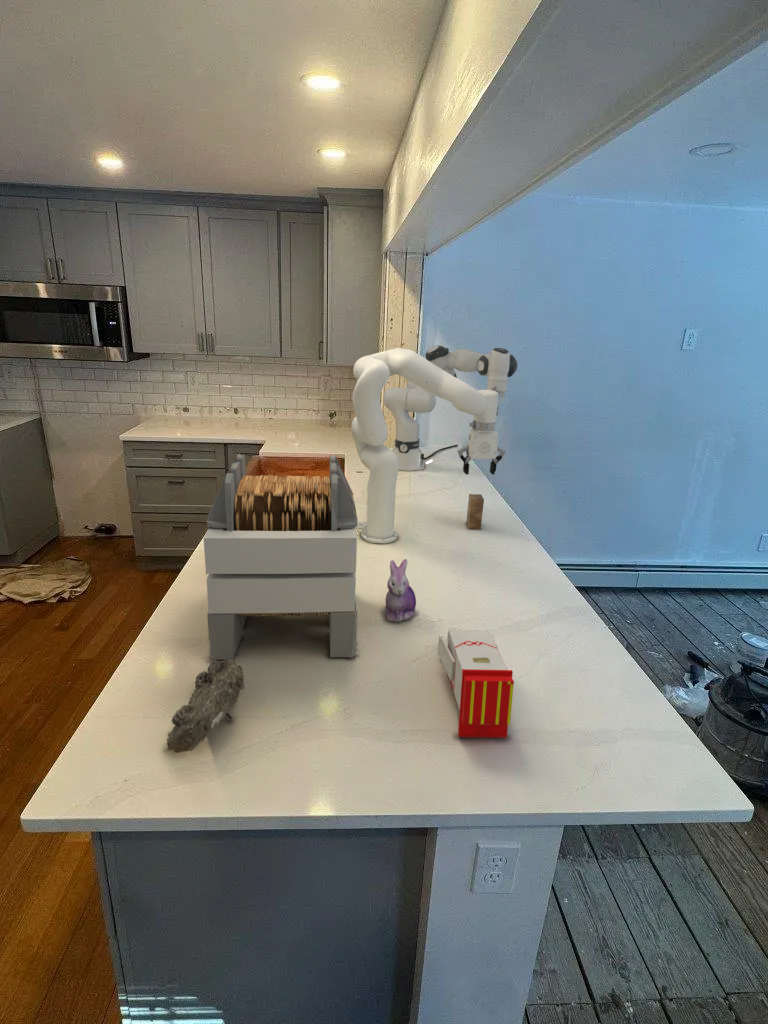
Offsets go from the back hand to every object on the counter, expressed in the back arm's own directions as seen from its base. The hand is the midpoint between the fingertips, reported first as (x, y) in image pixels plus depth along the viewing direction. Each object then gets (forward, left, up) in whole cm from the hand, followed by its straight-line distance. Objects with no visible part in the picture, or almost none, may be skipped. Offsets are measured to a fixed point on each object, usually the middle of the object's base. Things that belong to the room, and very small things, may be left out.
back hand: (493, 417), depth 257 cm
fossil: (+185, -27, -30) cm, 189 cm away
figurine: (+134, -4, -30) cm, 138 cm away
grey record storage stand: (+148, -29, -30) cm, 154 cm away
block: (+62, +4, -30) cm, 70 cm away
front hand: (+62, +4, -10) cm, 63 cm away
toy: (+159, +19, -30) cm, 163 cm away
